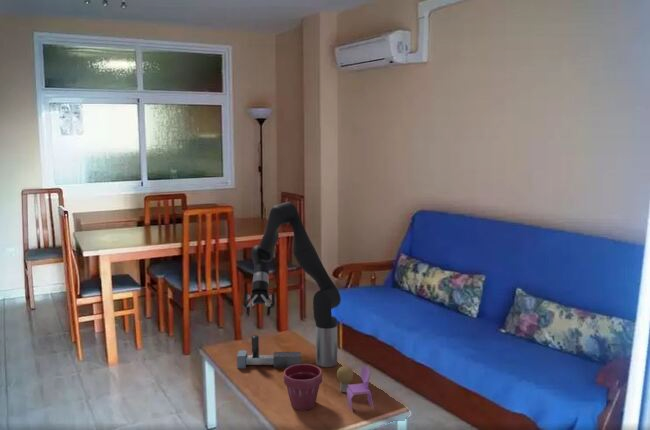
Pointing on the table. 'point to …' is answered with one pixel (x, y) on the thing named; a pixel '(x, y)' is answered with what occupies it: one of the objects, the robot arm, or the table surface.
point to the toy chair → (360, 387)
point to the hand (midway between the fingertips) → (258, 315)
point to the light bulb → (344, 377)
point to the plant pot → (303, 385)
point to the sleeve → (286, 359)
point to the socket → (241, 359)
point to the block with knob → (255, 357)
